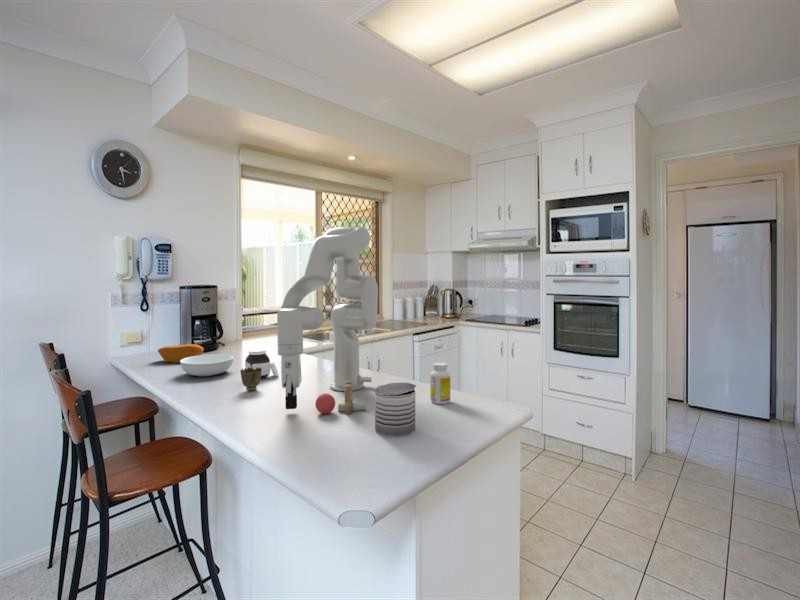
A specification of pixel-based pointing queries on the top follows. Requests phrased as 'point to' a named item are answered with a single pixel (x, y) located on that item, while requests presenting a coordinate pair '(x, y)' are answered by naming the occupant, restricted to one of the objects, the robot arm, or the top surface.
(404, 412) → the can
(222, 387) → the top surface
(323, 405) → the ball
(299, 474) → the top surface
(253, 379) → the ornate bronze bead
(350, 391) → the pin
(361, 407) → the front pin
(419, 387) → the top surface
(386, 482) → the top surface
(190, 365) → the serving bowl
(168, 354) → the bread
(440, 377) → the supplement bottle
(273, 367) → the spread jar
